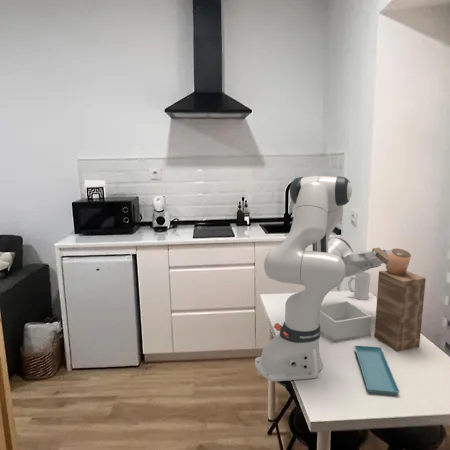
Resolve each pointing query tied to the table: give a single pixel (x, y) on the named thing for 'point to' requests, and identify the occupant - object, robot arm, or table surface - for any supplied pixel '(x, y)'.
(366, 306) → the table surface
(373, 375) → the teal serving tray
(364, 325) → the bin
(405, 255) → the pot
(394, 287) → the wooden block
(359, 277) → the mug
